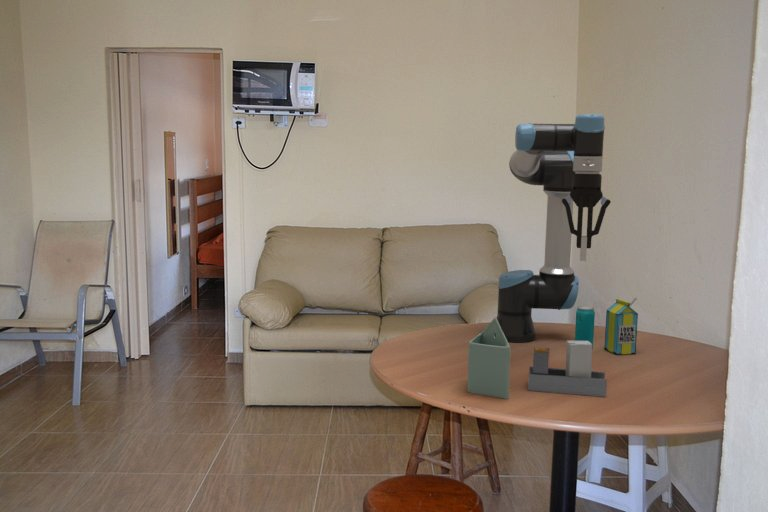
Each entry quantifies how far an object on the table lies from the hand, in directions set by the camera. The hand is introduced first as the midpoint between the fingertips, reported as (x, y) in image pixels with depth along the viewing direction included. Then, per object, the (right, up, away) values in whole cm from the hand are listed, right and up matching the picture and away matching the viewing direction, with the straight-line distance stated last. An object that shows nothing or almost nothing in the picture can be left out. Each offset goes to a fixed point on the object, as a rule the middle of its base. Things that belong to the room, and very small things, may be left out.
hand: (582, 260), depth 195 cm
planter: (-28, -35, -4) cm, 45 cm away
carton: (+23, -30, +38) cm, 54 cm away
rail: (-5, -35, -2) cm, 35 cm away
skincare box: (-2, -34, -2) cm, 34 cm away
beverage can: (+10, -30, +36) cm, 48 cm away
